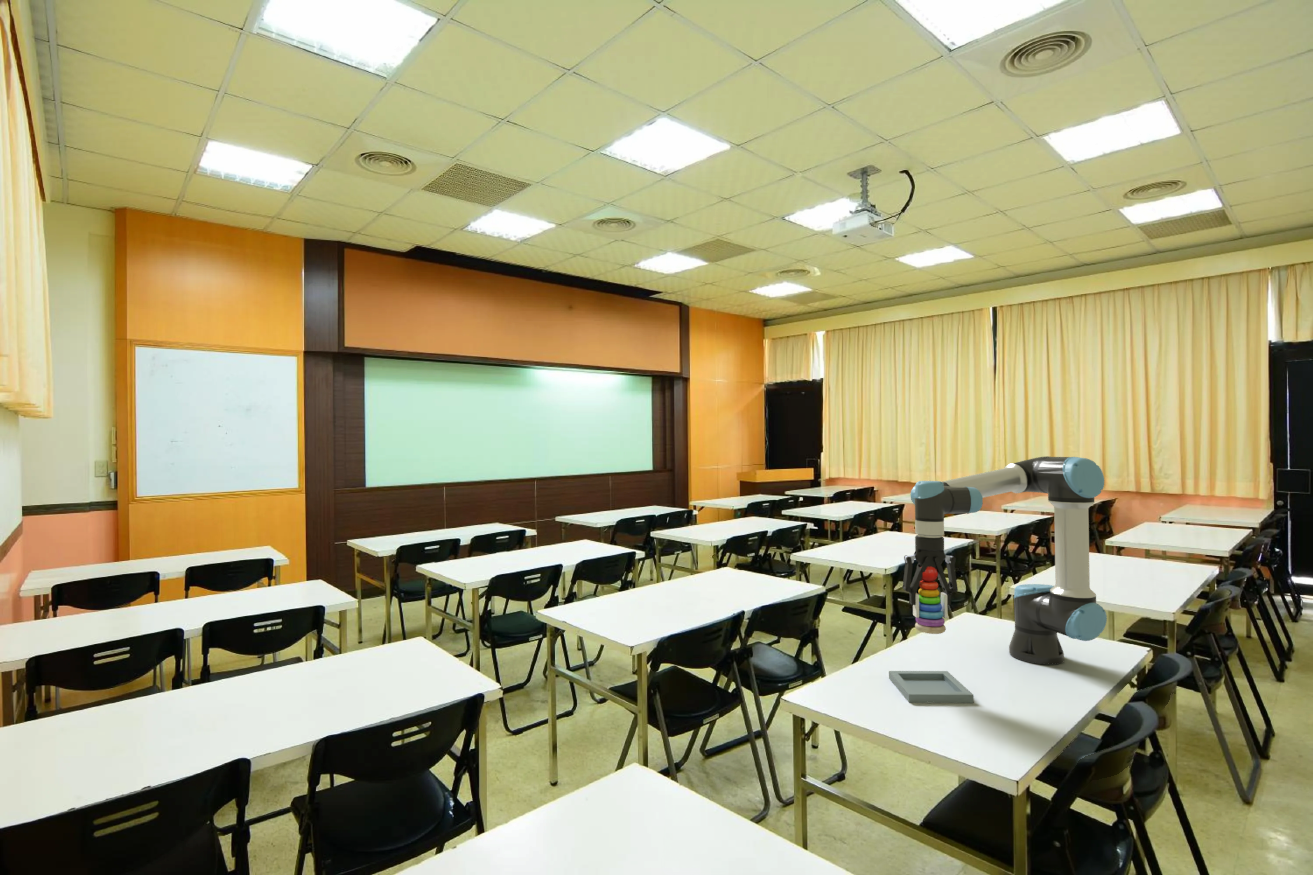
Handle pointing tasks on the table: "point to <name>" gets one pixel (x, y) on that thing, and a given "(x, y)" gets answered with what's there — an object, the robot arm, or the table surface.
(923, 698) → the gray square tray
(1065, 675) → the table surface
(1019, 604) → the robot arm
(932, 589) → the stacking toy
